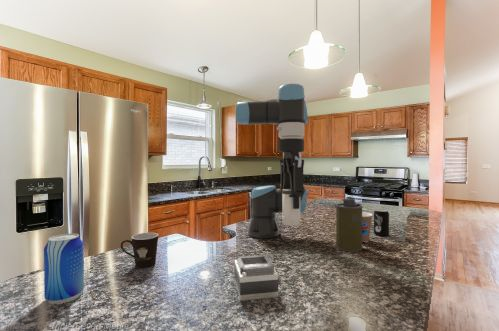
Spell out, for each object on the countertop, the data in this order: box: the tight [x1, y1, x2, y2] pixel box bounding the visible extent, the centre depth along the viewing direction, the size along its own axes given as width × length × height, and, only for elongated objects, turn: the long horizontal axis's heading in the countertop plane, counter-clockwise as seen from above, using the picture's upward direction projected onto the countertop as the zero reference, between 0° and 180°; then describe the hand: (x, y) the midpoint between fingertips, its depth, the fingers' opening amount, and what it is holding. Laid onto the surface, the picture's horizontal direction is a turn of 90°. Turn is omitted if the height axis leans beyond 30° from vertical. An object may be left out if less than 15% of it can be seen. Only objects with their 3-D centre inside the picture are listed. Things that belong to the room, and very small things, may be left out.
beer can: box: [43, 233, 85, 305], centre depth 70 cm, size 8×8×16 cm
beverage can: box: [373, 208, 390, 237], centre depth 128 cm, size 7×7×12 cm
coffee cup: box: [362, 211, 374, 243], centre depth 119 cm, size 10×10×12 cm
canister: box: [335, 197, 364, 253], centre depth 109 cm, size 11×10×20 cm
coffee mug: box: [120, 232, 159, 270], centre depth 92 cm, size 12×9×10 cm
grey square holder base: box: [233, 254, 279, 301], centre depth 75 cm, size 12×10×7 cm
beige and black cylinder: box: [281, 189, 301, 227], centre depth 79 cm, size 5×5×10 cm
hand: (291, 217), depth 79 cm, fingers closed on beige and black cylinder, 5 cm apart
